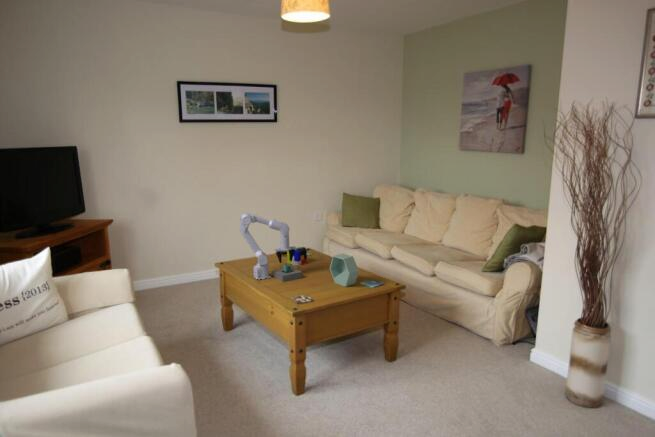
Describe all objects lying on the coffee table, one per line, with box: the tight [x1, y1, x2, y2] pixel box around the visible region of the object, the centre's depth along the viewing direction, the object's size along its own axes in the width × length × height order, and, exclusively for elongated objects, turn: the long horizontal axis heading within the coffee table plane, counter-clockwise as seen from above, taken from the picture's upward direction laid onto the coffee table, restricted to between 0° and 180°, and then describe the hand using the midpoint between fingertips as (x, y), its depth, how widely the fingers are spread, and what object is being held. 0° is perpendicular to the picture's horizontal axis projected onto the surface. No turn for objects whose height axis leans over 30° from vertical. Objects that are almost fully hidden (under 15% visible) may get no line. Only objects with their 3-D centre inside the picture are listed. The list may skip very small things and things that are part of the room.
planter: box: [329, 253, 360, 288], centre depth 290 cm, size 17×8×21 cm
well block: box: [272, 266, 303, 283], centre depth 306 cm, size 14×14×4 cm
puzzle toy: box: [286, 247, 308, 267], centre depth 337 cm, size 10×10×10 cm
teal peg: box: [283, 264, 292, 273], centre depth 305 cm, size 4×4×7 cm
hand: (285, 261), depth 308 cm, fingers open, 7 cm apart
